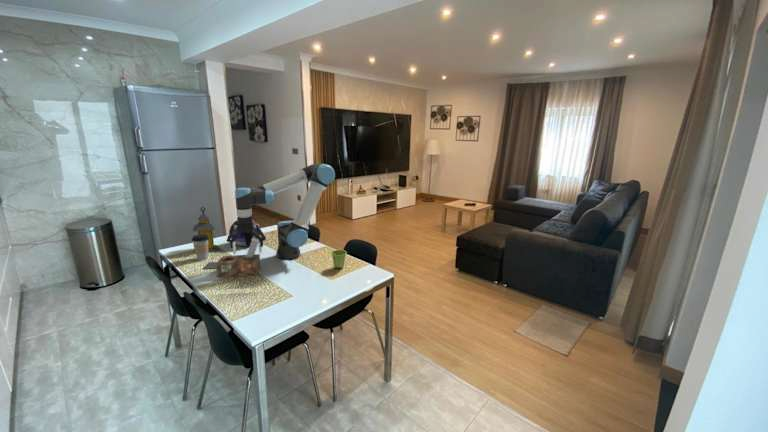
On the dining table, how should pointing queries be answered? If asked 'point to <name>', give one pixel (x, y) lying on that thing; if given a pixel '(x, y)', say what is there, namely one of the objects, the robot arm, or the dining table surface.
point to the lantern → (206, 230)
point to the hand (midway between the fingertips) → (247, 252)
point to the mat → (210, 265)
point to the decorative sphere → (243, 235)
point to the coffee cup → (201, 246)
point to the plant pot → (338, 257)
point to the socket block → (238, 266)
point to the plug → (252, 248)
